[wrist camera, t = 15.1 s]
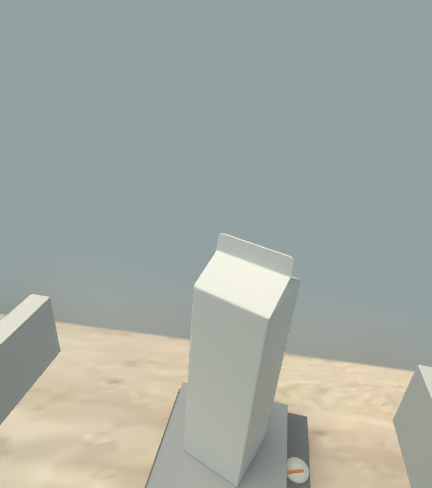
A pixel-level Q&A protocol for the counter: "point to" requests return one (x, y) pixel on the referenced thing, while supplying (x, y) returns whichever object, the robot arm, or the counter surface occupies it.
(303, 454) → the kitchen scale
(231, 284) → the milk
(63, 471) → the counter surface
